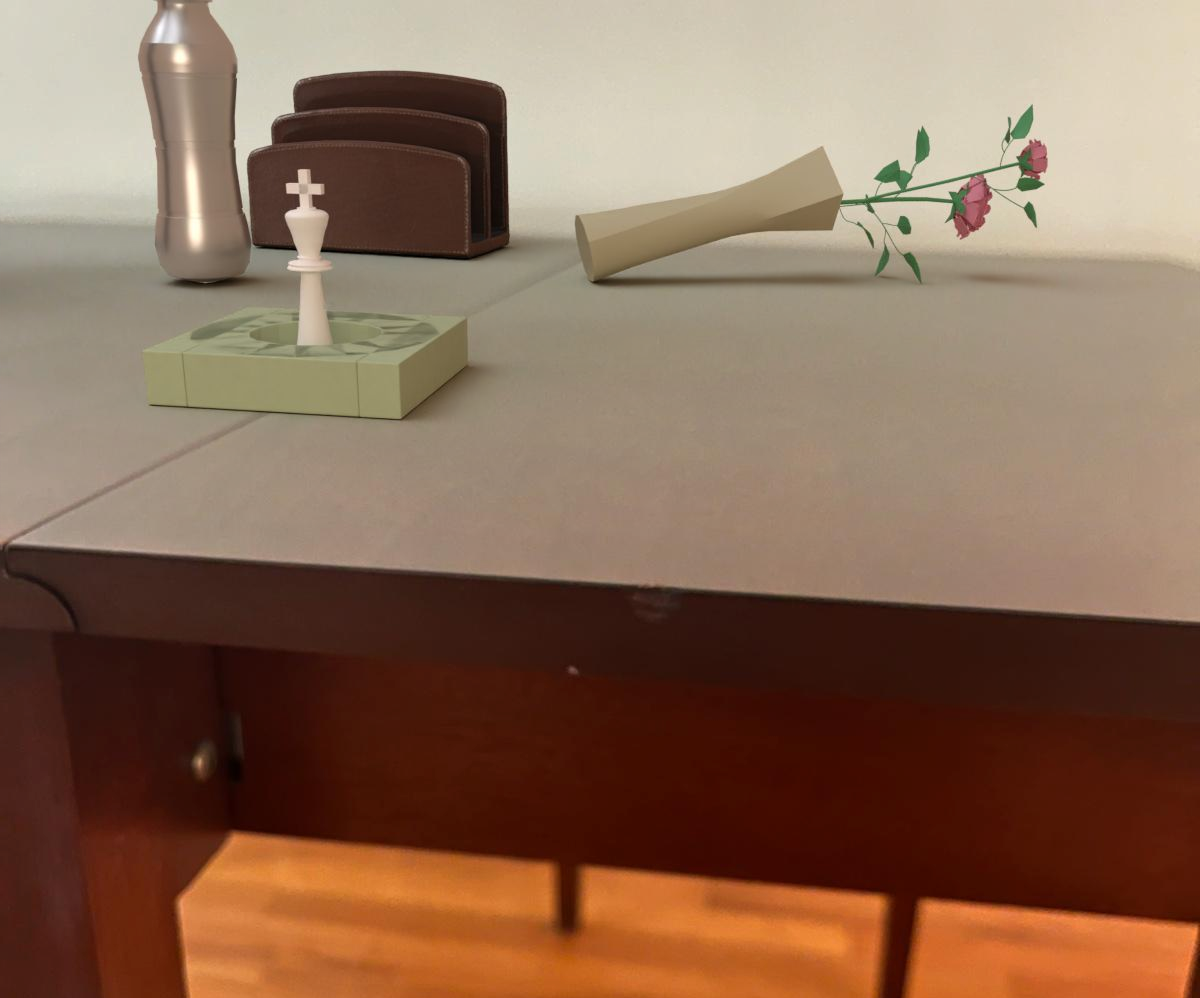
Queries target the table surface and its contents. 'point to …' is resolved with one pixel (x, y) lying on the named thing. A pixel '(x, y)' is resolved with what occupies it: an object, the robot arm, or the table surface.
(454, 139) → the letter holder
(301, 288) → the chess piece
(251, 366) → the green ashtray
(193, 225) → the metallic bottle
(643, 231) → the flower vase
